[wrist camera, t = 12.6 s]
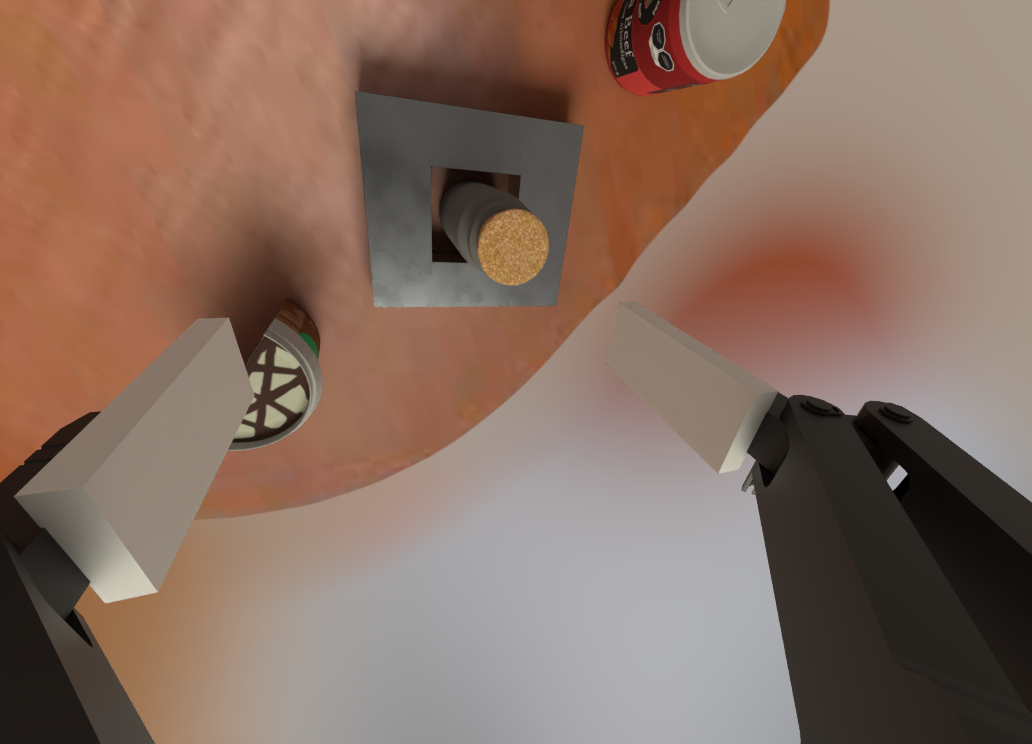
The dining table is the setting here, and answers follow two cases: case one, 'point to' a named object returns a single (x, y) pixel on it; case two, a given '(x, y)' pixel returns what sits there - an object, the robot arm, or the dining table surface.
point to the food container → (281, 380)
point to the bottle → (494, 232)
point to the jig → (407, 196)
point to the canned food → (687, 41)
